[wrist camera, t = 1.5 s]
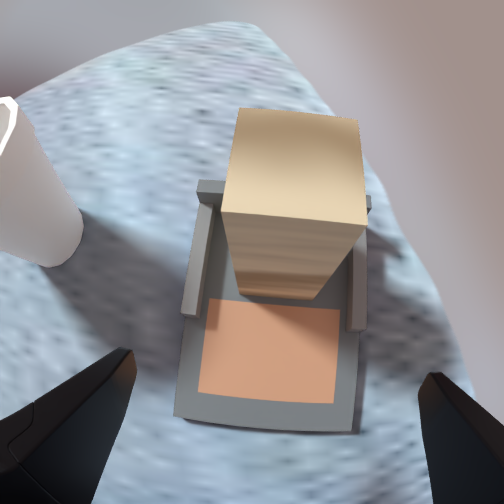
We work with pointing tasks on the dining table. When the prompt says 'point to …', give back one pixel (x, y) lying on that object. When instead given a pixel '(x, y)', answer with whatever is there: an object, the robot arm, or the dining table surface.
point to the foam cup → (33, 196)
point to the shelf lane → (267, 339)
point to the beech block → (292, 200)
